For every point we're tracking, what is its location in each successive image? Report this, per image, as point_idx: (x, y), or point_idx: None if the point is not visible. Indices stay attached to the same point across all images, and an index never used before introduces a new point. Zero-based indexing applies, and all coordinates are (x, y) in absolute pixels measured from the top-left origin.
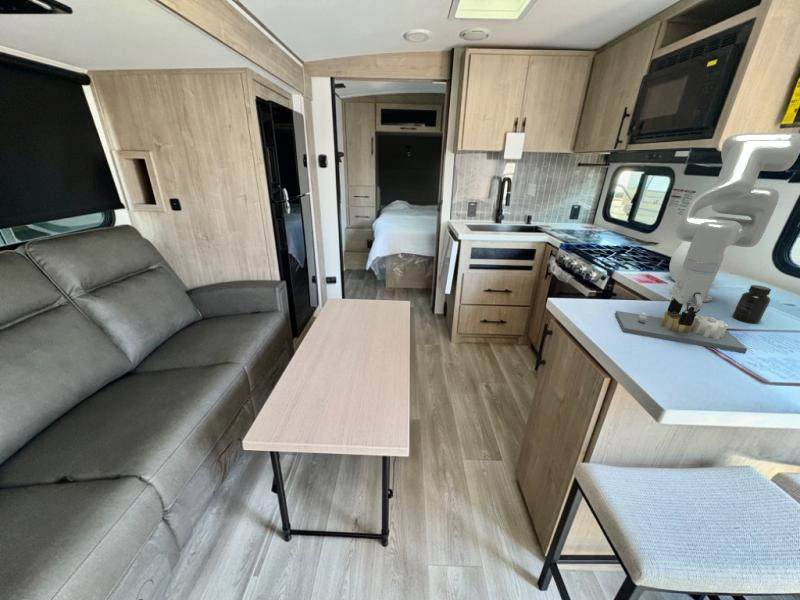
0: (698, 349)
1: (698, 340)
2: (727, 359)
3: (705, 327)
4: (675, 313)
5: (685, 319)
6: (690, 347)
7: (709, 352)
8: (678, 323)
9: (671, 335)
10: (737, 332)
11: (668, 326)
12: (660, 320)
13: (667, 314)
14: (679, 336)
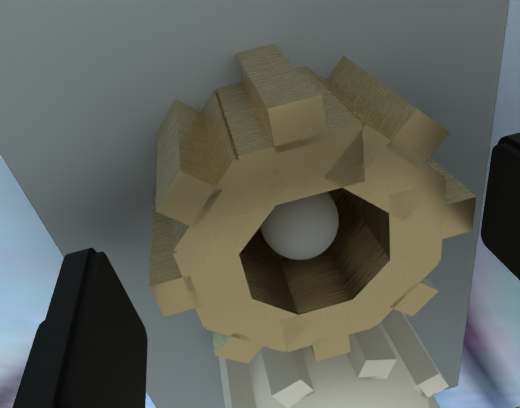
0: (24, 298)
1: None
2: (13, 402)
3: (255, 386)
4: (403, 220)
5: (27, 368)
6: (10, 260)
7: None
8: (65, 255)
9: (14, 151)
10: (460, 397)
11: (166, 130)
12: (412, 51)
13: (297, 137)
14: (59, 211)
